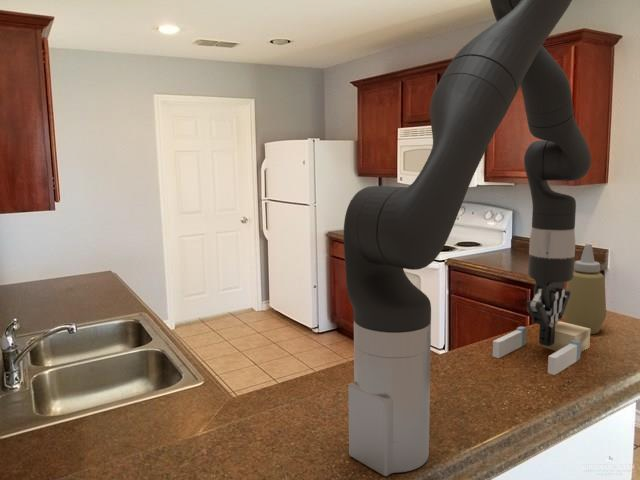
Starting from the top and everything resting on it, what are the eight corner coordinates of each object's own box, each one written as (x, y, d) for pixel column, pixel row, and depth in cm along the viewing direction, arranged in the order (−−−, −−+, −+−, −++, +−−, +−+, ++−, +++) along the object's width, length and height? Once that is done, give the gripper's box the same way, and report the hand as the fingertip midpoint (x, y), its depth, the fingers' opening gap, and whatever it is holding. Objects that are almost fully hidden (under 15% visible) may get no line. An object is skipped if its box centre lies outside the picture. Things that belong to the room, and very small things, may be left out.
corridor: (554, 375, 87) (555, 355, 87) (492, 356, 96) (493, 338, 95) (580, 359, 94) (581, 340, 93) (519, 342, 102) (520, 326, 101)
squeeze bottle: (594, 339, 103) (600, 250, 100) (554, 329, 109) (559, 244, 106) (611, 330, 108) (618, 244, 105) (572, 321, 114) (577, 240, 111)
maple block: (573, 357, 95) (574, 336, 95) (542, 347, 100) (543, 327, 99) (589, 349, 99) (590, 328, 98) (558, 340, 103) (559, 321, 103)
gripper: (555, 260, 87) (550, 359, 90) (588, 250, 96) (582, 340, 98) (513, 255, 93) (509, 348, 95) (547, 245, 101) (543, 331, 104)
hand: (546, 344), depth 97 cm, fingers closed
